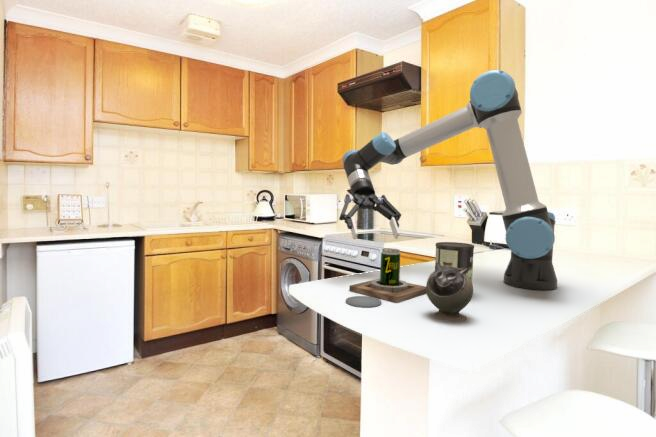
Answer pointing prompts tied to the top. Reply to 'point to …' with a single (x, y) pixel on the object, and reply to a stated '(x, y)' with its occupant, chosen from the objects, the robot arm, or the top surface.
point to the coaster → (363, 301)
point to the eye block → (389, 290)
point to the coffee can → (455, 255)
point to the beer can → (390, 267)
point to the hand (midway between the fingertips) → (376, 236)
